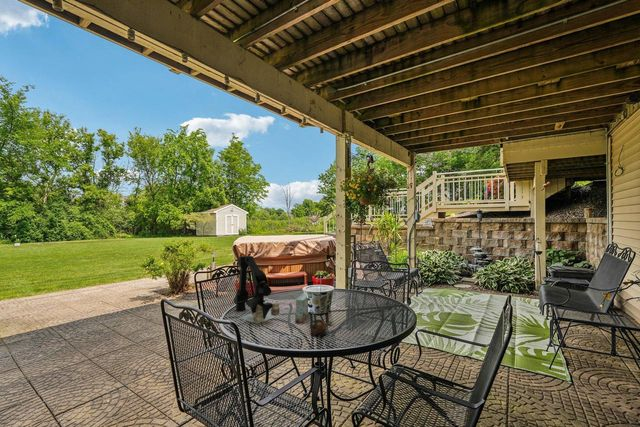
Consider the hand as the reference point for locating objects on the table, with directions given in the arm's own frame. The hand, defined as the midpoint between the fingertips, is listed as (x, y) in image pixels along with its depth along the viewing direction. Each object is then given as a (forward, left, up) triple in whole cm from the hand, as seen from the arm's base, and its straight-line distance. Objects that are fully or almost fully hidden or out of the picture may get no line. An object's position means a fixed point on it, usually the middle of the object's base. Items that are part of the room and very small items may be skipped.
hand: (259, 317), depth 186 cm
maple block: (0, 0, -2) cm, 2 cm away
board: (-6, +7, -3) cm, 10 cm away
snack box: (+18, +23, -3) cm, 29 cm away
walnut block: (-11, +10, -2) cm, 15 cm away
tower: (0, +15, -2) cm, 15 cm away
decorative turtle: (+41, +7, -3) cm, 42 cm away
